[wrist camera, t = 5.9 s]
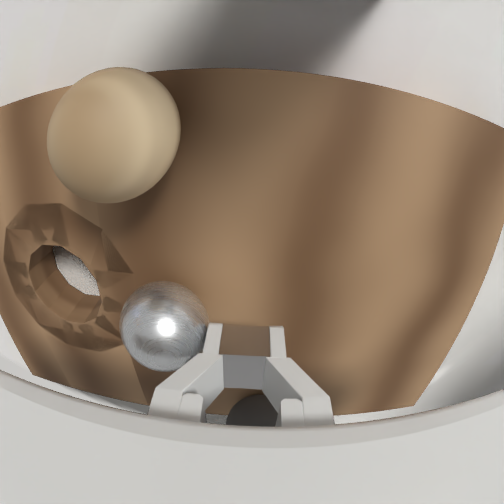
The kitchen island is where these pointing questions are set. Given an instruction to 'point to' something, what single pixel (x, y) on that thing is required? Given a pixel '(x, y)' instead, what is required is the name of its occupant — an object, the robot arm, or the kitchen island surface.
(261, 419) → the black rubber ball
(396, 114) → the board
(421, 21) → the kitchen island surface
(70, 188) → the beech ball
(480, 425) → the robot arm
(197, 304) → the steel ball
